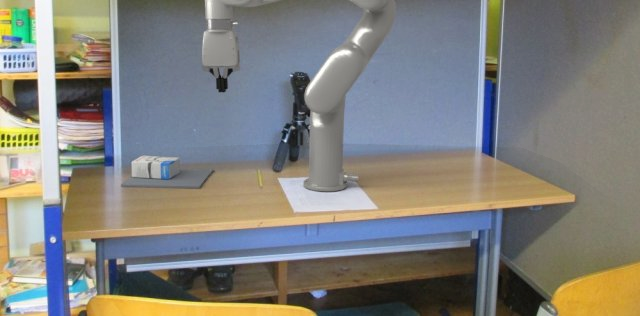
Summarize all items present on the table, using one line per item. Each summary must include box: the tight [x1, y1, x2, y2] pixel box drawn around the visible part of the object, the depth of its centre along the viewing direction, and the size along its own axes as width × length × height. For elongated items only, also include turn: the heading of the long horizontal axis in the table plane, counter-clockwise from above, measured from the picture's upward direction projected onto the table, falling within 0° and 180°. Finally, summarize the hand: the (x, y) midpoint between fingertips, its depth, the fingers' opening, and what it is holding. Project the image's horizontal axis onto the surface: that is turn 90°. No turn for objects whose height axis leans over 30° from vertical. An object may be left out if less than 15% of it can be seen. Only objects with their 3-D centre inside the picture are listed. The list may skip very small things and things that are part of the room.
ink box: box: [131, 155, 181, 179], centre depth 192 cm, size 9×5×12 cm
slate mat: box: [120, 167, 214, 190], centre depth 192 cm, size 22×20×1 cm
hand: (222, 91), depth 185 cm, fingers closed
